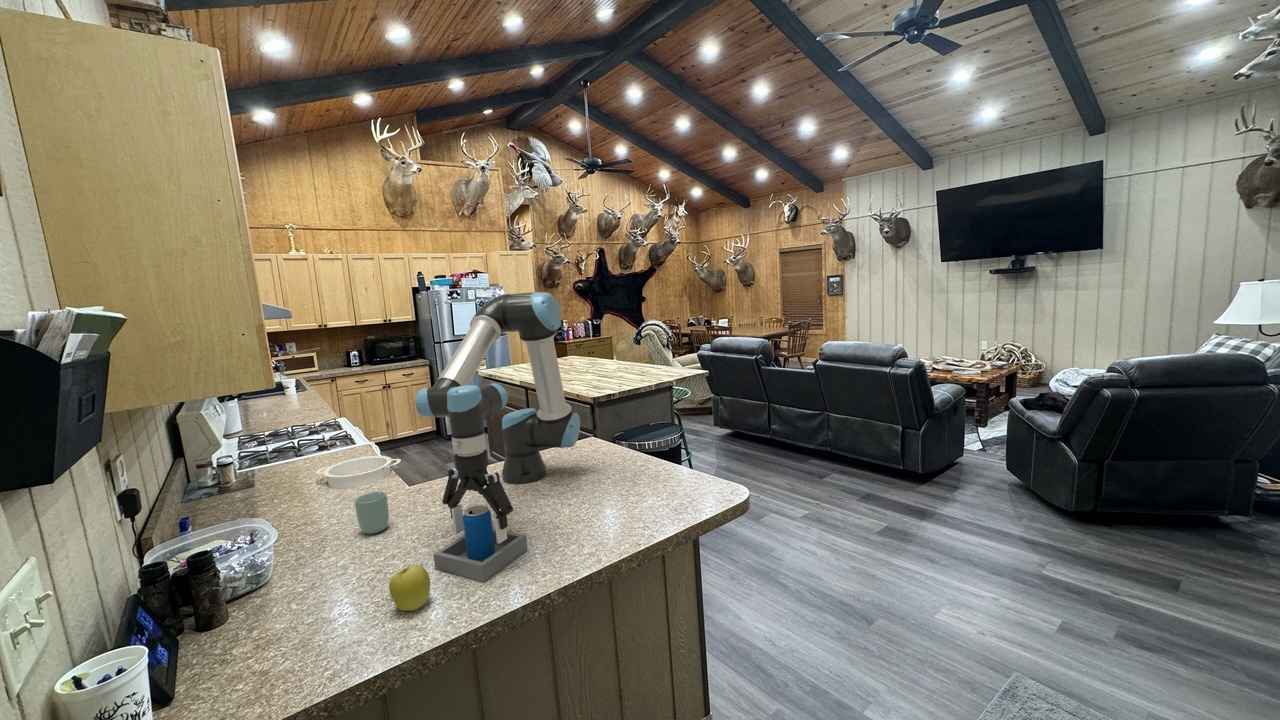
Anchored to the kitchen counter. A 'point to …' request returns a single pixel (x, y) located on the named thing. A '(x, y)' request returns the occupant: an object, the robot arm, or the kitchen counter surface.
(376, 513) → the cup
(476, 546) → the beverage can
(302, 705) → the kitchen counter surface
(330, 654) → the kitchen counter surface
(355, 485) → the oval baking dish
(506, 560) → the bin
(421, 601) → the apple
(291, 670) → the kitchen counter surface
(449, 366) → the robot arm
